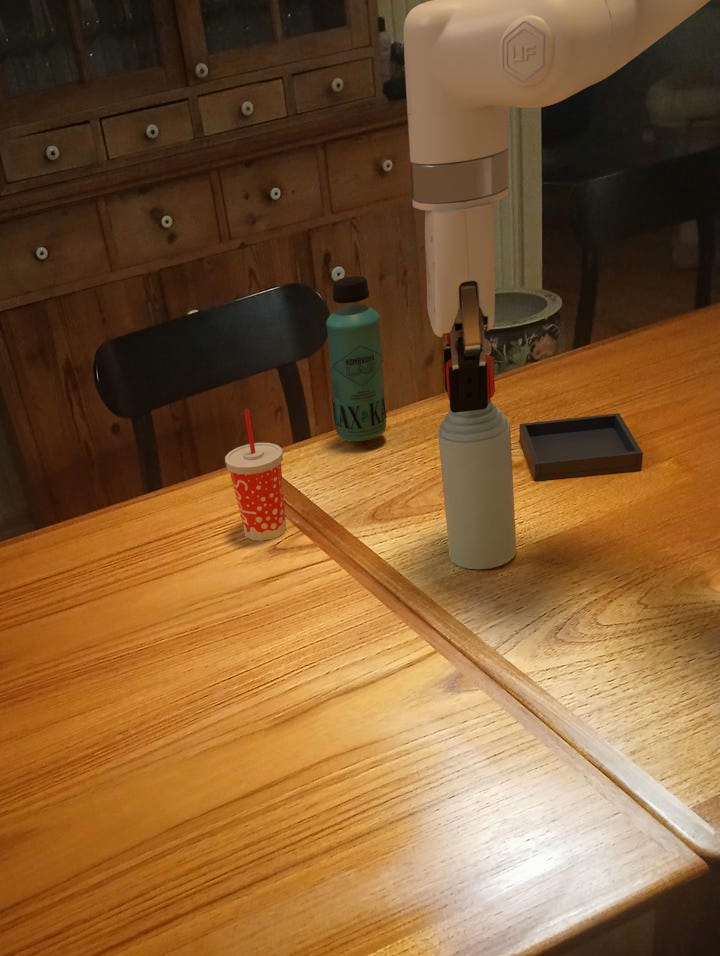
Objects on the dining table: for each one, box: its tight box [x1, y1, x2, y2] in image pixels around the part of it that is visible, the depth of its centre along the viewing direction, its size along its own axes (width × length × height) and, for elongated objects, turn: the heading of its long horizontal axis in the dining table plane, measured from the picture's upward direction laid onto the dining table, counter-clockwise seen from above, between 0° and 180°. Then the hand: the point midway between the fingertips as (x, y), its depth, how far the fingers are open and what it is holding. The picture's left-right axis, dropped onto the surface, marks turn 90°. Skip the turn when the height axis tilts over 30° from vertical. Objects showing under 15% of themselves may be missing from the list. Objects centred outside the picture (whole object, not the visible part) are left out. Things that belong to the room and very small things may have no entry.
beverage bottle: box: [325, 275, 388, 442], centre depth 118 cm, size 6×7×20 cm
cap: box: [446, 353, 496, 401], centre depth 87 cm, size 4×4×3 cm
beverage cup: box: [224, 407, 287, 542], centre depth 104 cm, size 6×6×14 cm
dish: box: [519, 412, 644, 482], centre depth 111 cm, size 11×11×2 cm
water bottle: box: [437, 398, 517, 570], centre depth 91 cm, size 6×6×18 cm
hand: (465, 397), depth 88 cm, fingers closed on cap, 4 cm apart
